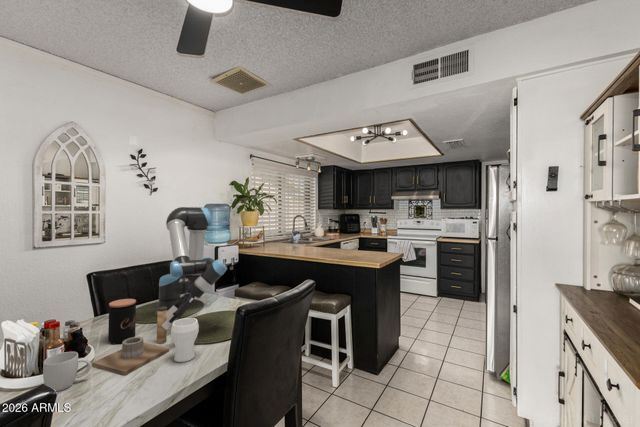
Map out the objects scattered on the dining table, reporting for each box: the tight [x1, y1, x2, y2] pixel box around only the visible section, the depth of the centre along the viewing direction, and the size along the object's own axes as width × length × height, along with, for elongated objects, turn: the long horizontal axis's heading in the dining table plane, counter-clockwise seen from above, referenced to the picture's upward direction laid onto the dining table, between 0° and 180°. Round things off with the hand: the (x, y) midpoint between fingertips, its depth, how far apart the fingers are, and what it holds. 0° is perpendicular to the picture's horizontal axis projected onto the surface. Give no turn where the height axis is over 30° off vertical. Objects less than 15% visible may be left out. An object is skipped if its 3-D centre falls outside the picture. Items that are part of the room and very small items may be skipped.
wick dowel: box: [156, 307, 168, 345], centre depth 135 cm, size 4×4×16 cm
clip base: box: [91, 336, 170, 376], centre depth 119 cm, size 20×18×8 cm
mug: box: [42, 351, 92, 392], centre depth 100 cm, size 13×9×10 cm
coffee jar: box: [107, 298, 137, 345], centre depth 136 cm, size 11×11×18 cm
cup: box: [170, 317, 200, 363], centre depth 121 cm, size 11×11×15 cm
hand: (164, 322), depth 134 cm, fingers open, 13 cm apart
